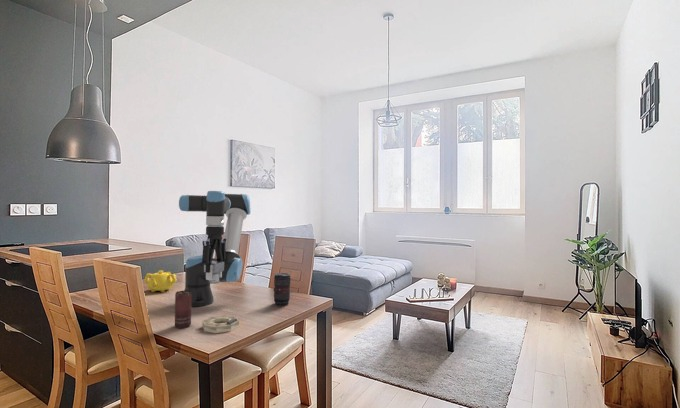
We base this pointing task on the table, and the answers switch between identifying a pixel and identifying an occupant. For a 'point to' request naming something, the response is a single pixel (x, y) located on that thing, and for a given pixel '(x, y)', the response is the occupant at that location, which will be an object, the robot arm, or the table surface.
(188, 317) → the can
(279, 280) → the camera lens
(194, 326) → the table surface
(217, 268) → the bushing
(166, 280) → the teapot
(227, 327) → the ring
